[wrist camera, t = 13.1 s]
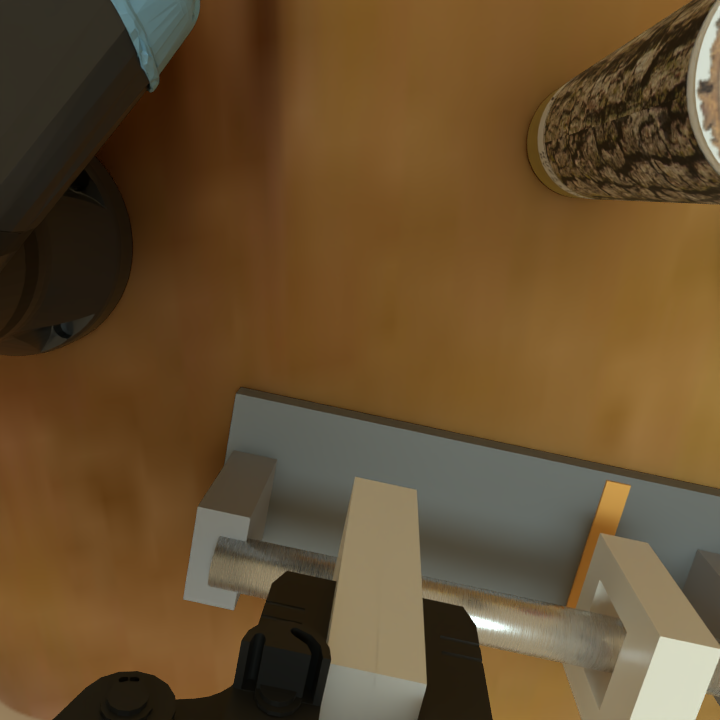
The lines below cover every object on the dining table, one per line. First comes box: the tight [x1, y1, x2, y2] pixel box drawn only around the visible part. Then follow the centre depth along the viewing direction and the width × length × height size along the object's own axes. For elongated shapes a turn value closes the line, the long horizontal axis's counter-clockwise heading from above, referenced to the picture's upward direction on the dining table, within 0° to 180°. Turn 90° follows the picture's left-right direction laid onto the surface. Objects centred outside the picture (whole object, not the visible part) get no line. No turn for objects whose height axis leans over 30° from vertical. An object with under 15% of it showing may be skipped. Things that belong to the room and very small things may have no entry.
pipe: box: [208, 536, 720, 697], centre depth 39 cm, size 32×3×3 cm, turn 78°
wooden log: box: [527, 0, 720, 204], centre depth 29 cm, size 7×7×25 cm
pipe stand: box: [183, 387, 720, 706], centre depth 43 cm, size 36×14×10 cm, turn 78°
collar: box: [563, 533, 720, 720], centre depth 38 cm, size 3×9×10 cm, turn 169°
